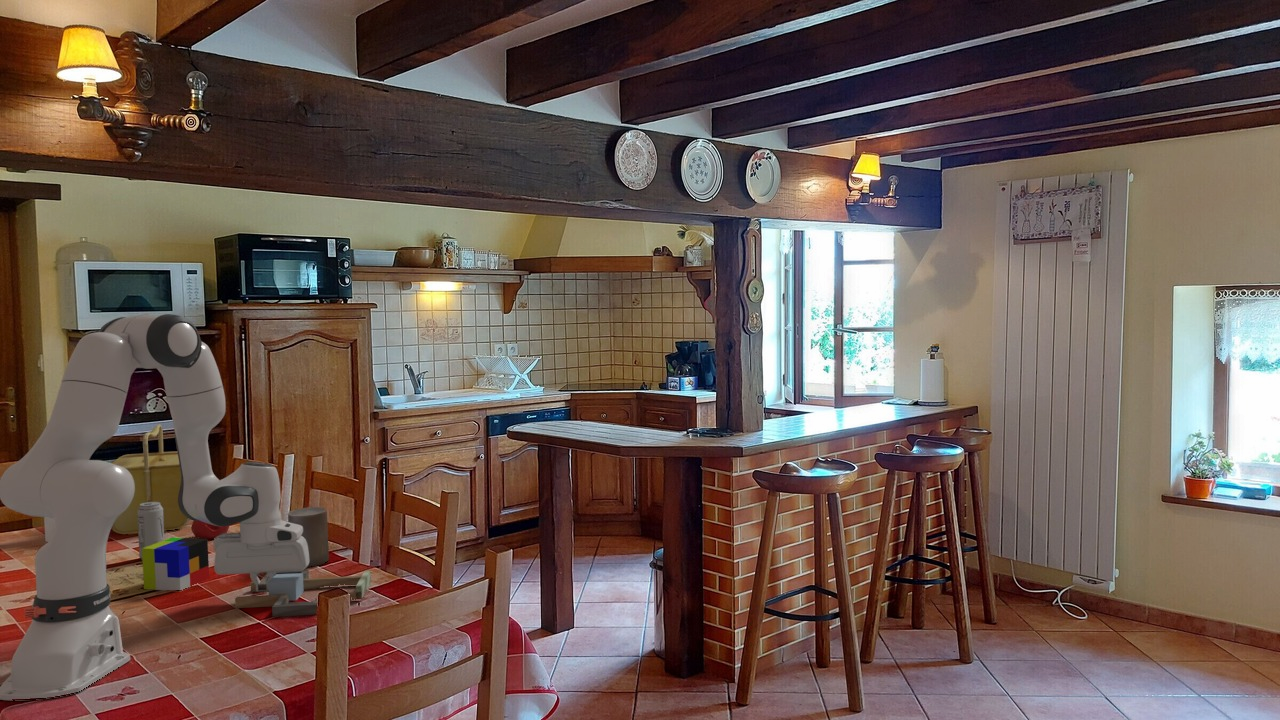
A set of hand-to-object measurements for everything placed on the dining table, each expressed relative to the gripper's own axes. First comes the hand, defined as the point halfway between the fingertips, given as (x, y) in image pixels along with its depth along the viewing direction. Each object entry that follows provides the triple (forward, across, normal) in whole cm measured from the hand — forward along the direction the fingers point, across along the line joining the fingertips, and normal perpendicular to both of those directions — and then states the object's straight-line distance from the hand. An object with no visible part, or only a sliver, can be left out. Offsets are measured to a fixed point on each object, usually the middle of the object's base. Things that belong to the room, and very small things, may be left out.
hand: (263, 590), depth 201 cm
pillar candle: (+2, +4, +28) cm, 28 cm away
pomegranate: (+2, -31, +60) cm, 68 cm away
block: (+2, +5, 0) cm, 5 cm away
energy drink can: (+2, -39, +39) cm, 55 cm away
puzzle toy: (+2, -24, +15) cm, 28 cm away
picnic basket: (+2, -54, +81) cm, 97 cm away
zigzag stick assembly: (+2, +9, 0) cm, 9 cm away
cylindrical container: (+2, -75, +66) cm, 100 cm away
